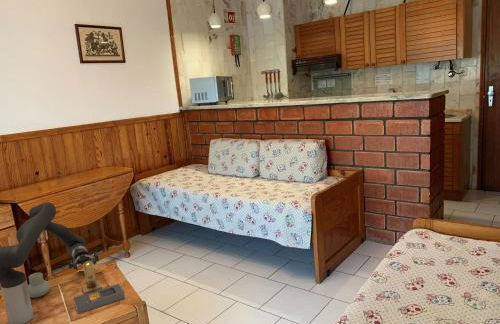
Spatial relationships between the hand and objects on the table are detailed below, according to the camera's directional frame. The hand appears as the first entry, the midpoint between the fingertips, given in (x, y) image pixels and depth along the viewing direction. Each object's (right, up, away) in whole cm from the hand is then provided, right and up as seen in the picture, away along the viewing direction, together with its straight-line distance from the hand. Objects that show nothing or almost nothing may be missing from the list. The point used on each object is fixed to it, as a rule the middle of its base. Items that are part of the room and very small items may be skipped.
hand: (85, 265), depth 197 cm
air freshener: (-19, -12, -7) cm, 24 cm away
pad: (+6, -10, -7) cm, 14 cm away
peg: (+6, -8, -8) cm, 13 cm away
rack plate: (+14, -11, -18) cm, 25 cm away
